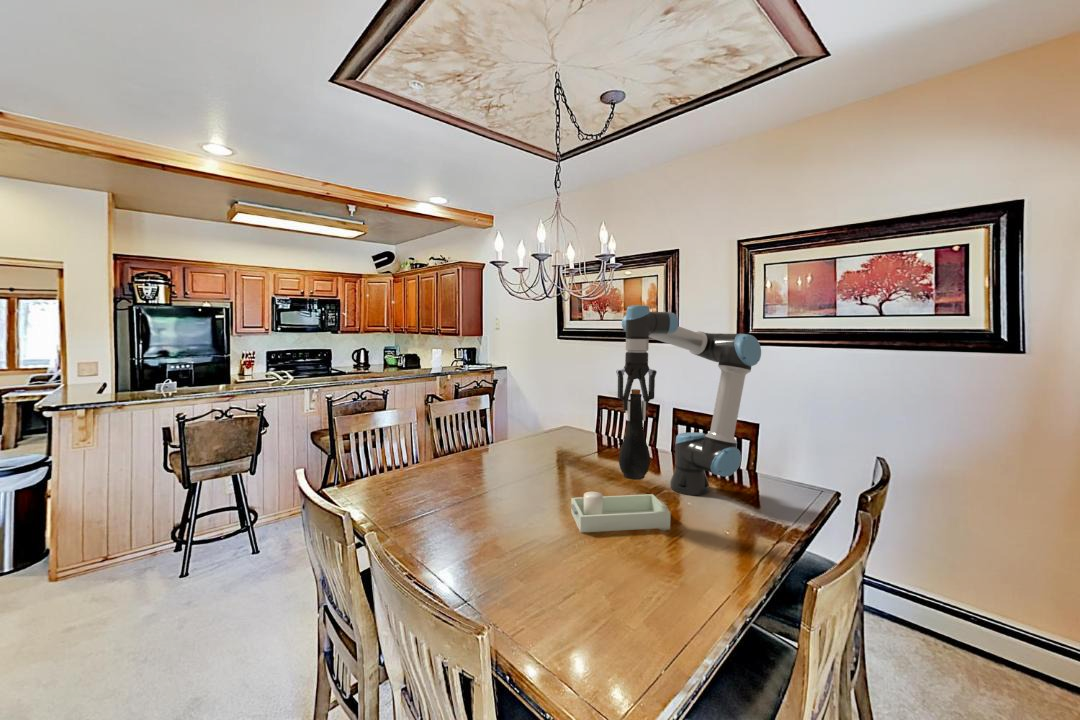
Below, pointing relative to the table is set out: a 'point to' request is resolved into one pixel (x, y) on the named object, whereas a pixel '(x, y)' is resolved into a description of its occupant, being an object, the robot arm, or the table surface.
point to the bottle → (634, 443)
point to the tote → (623, 514)
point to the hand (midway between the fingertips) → (635, 419)
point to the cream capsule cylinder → (593, 503)
